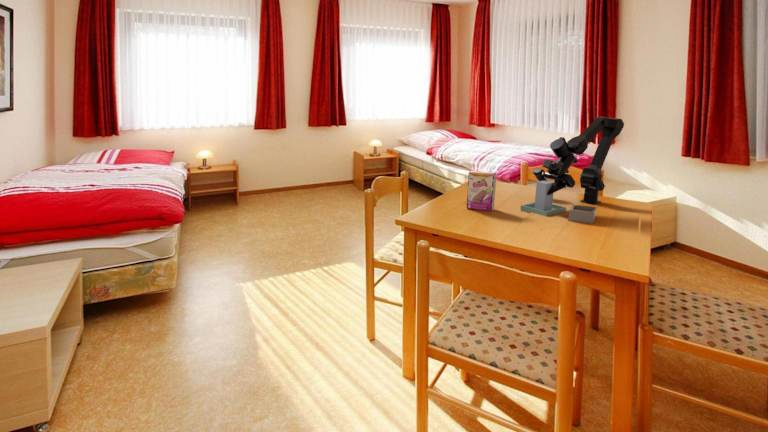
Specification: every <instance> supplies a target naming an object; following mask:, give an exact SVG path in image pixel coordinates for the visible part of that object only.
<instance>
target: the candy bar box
mask: <svg viewBox="0 0 768 432" xmlns="http://www.w3.org/2000/svg"><path fill="white" fill-rule="evenodd" d="M467 175H468V179H467V197H466V210H467V209H468V210H475V211H483V212H485V211H486V212H492V211H493V210H494V209H495V198H496V185H497V184H496V183H497V172H493V171H483V170H482V171H481V170H470V171H469V172H468V174H467Z"/></svg>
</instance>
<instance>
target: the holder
mask: <svg viewBox="0 0 768 432" xmlns="http://www.w3.org/2000/svg"><path fill="white" fill-rule="evenodd" d="M570 206H571V207H570V208H569V211H568V219H567V220H568V222H575V223H584V224H594V222H595V219H596V214H597V207H596V206H589V205H581V204H579V205H578V204H572V205H570Z"/></svg>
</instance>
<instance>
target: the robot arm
mask: <svg viewBox="0 0 768 432" xmlns="http://www.w3.org/2000/svg"><path fill="white" fill-rule="evenodd" d="M624 127H625V123H624V121H623V119H622V118H616V117H615V118H614V117H613V118H612V117H606V116H597V117H595V118H594V120H593V122H592V123H590V124H589V125H588V126H587V127H586V128H585V129H584V130H583V131H582V132H581V133H580V134H578V135H577V136H575V137H574V136H573V137H572V138H571V139H569V140H566V138H565V137H564V136H563V137H562V136H560V137H559V138H558V139H557V138H556V139H555V140H554V141H552V142H550V145H549V148H550V149H551V151H552V153H553V154H554V155H555V157H556V158H558V159H556V160H552V159H546V158H545V159H544V161H543V162H542V163H543V164H542V165H541V167H542V168H538V167H537V168H534V170H533V171H532V174H533V175H534V176H535V178H536V179H537V180H538V181H548V179H549V180H553V182H554V184H553V185H552V187H551V188H550V189H549V191H548V193H547V194H548V195H550V194H552V193H553V194H554V193H557V192H558V191H561V190H563V189H566V188H571V189H572V188H574V187H575V185H576V181H575V179H574V177H573V175H572V174H570V173H569V172H570V170H569V169H570V167H571V166H572V165H573V164H578V157H577V156H575V155H579V156H582V155H583V154H584V153H585V152H586V151H587V149H588V147H589V143H590V142H591V141H592V140H593V139H594V138H595V137H596V136H597V135H598V134H599V133H600V132H601V137H600V139H599V142H598V145H597V148H596V150H595V152H594V154H593V157H592V160H591V161H590V164H589V166H587V167H583V169H582V172H581V174H580V177H579V181H580V182H579V183H580V188H581V189H584V192H583V193H584V194H583V199H580V202H582V203H587V204H591V205H594V204H599V203H601V202H602V201H601V200H599V195H600V192H603V191H604V189H605V187H606V185H605V184H604V181H603V180H602V179H603V172H602V168H603V166H604V163H605V161H606V158H607V157H608V154H609V151H610V149H611V146H612V143H613V141H614V139H616V138H617V137H618V136H619V135H620V134H621V132H622V130H623V128H624ZM543 168H545V169H546V171H547V172H546V171H545V170H544V169H543Z"/></svg>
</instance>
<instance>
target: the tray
mask: <svg viewBox="0 0 768 432" xmlns="http://www.w3.org/2000/svg"><path fill="white" fill-rule="evenodd" d="M534 207H535V201H534V202H531V203H530V202H529V203H525V204H521V205H520V211H521V212H525V213H528V214H531V213H533V214H537V215H540V216H545V217H549V216H551V215H556V214H561V213H565V212H567V206H562V205H558V204H555V203H552V210H550V211H542V210H538V209H535V208H534Z"/></svg>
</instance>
